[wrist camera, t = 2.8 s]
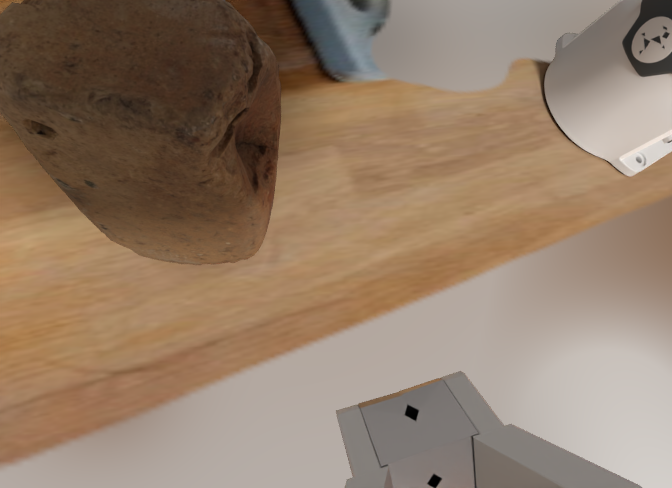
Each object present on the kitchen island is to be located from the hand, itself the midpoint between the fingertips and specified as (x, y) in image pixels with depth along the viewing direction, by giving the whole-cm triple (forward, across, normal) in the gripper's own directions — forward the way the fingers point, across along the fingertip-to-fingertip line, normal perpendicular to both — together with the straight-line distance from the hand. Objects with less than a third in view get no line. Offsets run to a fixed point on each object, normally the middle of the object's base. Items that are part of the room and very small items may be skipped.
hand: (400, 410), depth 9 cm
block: (+26, +8, +2) cm, 27 cm away
